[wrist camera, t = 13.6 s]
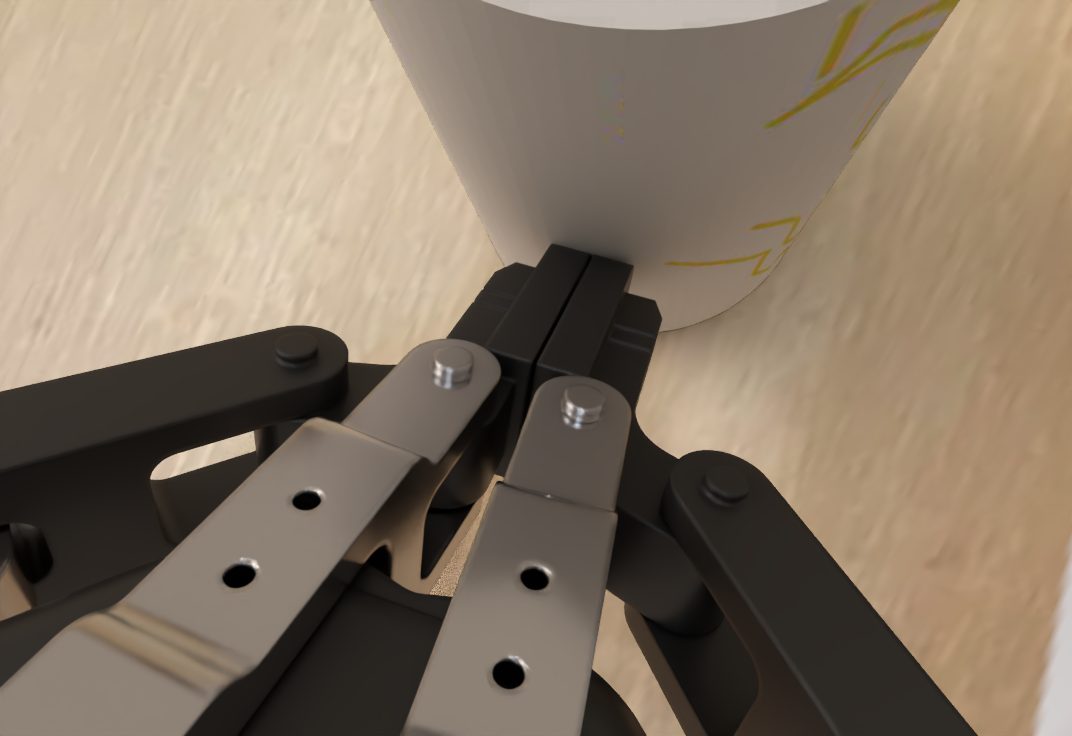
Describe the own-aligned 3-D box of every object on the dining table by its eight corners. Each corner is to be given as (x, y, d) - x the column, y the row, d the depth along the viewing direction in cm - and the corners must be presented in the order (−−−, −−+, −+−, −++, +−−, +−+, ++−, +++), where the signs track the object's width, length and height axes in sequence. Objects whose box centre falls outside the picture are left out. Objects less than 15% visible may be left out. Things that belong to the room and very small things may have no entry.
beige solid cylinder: (744, 379, 17) (1003, 146, 6) (432, 271, 19) (121, -98, 7) (849, 76, 18) (1254, -659, 7) (545, -6, 20) (436, -742, 8)
